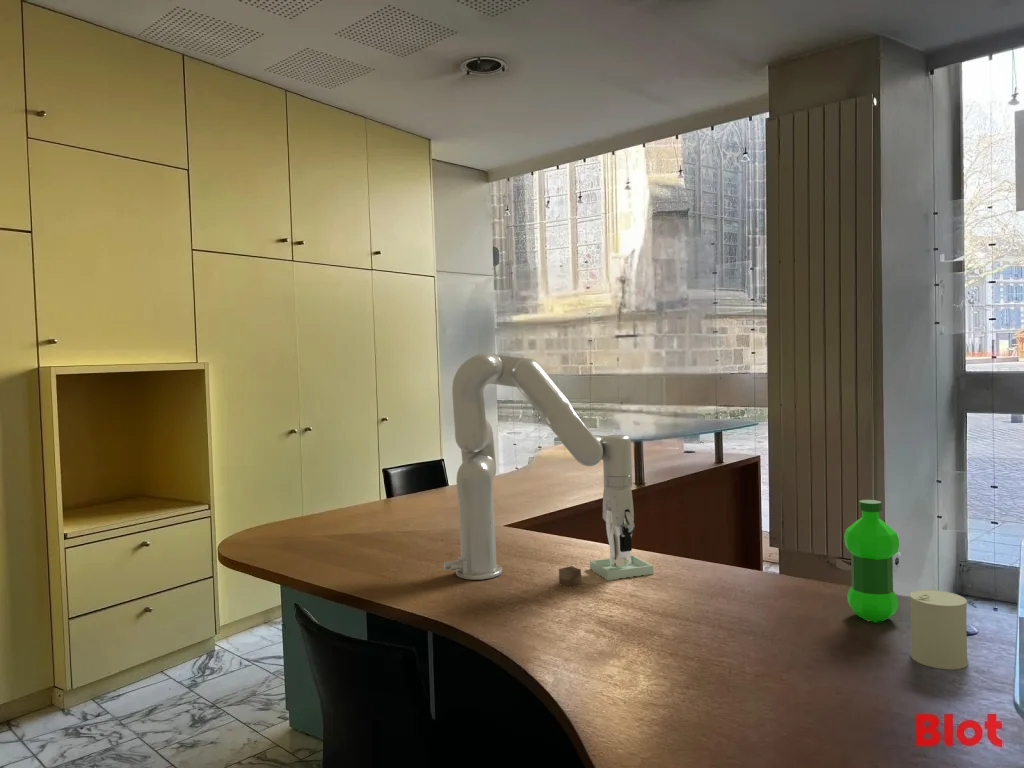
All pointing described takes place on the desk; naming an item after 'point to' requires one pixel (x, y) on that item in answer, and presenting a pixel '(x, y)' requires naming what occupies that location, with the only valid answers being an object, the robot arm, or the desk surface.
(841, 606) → the desk surface
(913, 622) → the can
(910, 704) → the desk surface
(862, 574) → the plastic bottle
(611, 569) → the tray
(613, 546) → the beer glass
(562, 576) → the walnut block
